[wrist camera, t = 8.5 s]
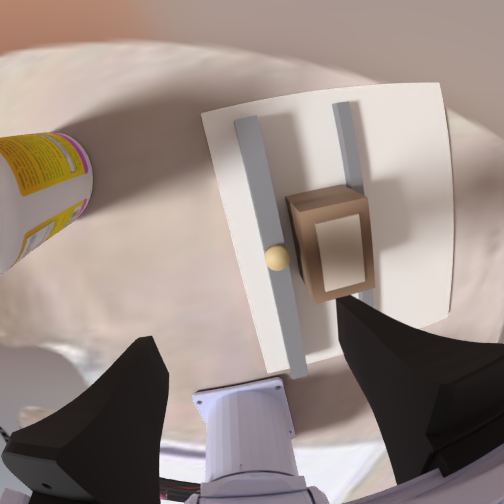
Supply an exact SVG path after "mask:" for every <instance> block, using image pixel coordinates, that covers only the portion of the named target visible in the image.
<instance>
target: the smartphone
mask: <svg viewBox="0 0 504 504" xmlns="http://www.w3.org/2000/svg"><path fill="white" fill-rule="evenodd" d="M159 488H160V499H164V500H170V501H177V502H184V503H185V501H187V500H188V499H189V498H190V496H191V495H193V494H198V495H201V484H197V483H190V482H183V481H176V480H172V479H165V478H160V477H159Z"/></svg>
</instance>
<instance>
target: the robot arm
mask: <svg viewBox="0 0 504 504" xmlns="http://www.w3.org/2000/svg"><path fill="white" fill-rule="evenodd" d="M336 312H337V326H338V341H339V343H340V346H341V349H342V351H343V354H344V356H345V359H346V361H347V363H348V365H349V367H350V369H351V371H352V372H353V374H354V376H355V378H356V380H357V382H358V383H359V385H360V387H361V389H362V391H363V393H364V394H365V396H366V398H367V400H368V402H369V404H370V406H371V408H372V410H373V413H374V415H375V418H376V421H377V423H378V426H379V429H380V431H381V434H382V437H383V440H384V443H385V446H386V449H387V452H388V455H389V458H390V462H391V465H392V468H393V472H394V475H395V479H396V483H397V486H394V487H392V488H389V489H386V490H384V491H381V492H378V493H375V494H372V495H369V496H366V497H363V498H360V499H356V500H353V501H350V502H346V503H343V504H504V344H500V343H477V342H469V341H462V340H456V339H451V338H447V337H442V336H438V335H435V334H431V333H428V332H425V331H422V330H419V329H416V328H414V327H411V326H409V325H406V324H404V323H402V322H400V321H398V320H395V319H393V318H391V317H389V316H387V315H386V314H384V313H382V312H380V311H378V310H376V309H375V308H373V307H371V306H369V305H368V304H366V303H364V302H362V301H361V300H359V299H357V298H356V297H354V296H352V295H348V296H344V297H340V298H336ZM276 386H279V387H276ZM168 393H169V372H168V370H167V368H166V366H165V364H164V362H163V359H162V357H161V355H160V353H159V351H158V348H157V346H156V344H155V342H154V339H153V337H152V336H147V337H140V338H138V339H136V340H135V341H134V342H133V343H132V344H131V345H130V346H129V347H128V348H127V349H126V351H125V352H124V353H123V354H122V355H121V356H120V357H119V358H118V359H117V360H116V361H115V362H114V363H113V365H112V366H111V367H110V368H109V369H108V370H107V371H106V372H105V373H104V374H103V375H102V376H101V377H100V378H99V379H98V380H97V381H96V382H95V383H94V384H92V385H91V386H90V387H89V388H88V389H87V390H86V391H84V392H83V393H82V394H81V395H80V396H78V397H77V398H76V399H74V400H73V401H72V402H70V403H69V404H67V405H66V406H64V407H63V408H61V409H60V410H58V411H57V412H55V413H53V414H52V415H50V416H48V417H46V418H44V419H42V420H41V421H39V422H37V423H34V424H32V425H30V426H27V427H25V428H23V429H20V430H18V431H15V432H13V433H12V434H11V436H10V438H9V440H8V442H7V444H6V447H5V449H4V451H3V453H2V455H1V457H2V460H3V462H4V464H5V465H6V467H7V468H8V469H9V470H10V471H11V472H12V473H13V474H14V475H15V476H16V477H17V478H18V479H19V480H20V481H22V482H23V483H24V484H25V485H26V486H28V488H30V489H31V490H32V491H33V493H32V496H31V497H29V496H28V495H26V494H23V493H21V492H18V491H15V490H11V489H8V488H4V491H3V493H2V496H1V499H0V504H161V502H160V488H159V453H160V441H161V435H162V429H163V423H164V418H165V412H166V406H167V401H168ZM192 400H193V401H194V403H195V405H196V407H197V409H198V411H199V413H200V415H201V417H202V418H203V420H204V422H205V424H206V426H207V433H206V480H205V483H201V495H198V494H193V495H191V496H190V498H189V499H188V500H187V501H185V503H184V504H329V501H328V499H327V497H326V495H325V494H324V493H323V492H322V491H320V490H319V489H318V488H317V487H315V486H310V487H306V482H305V478H304V476H299V475H298V470H297V466H296V461H295V456H294V451H293V447H292V442H291V439H294V438H295V437H296V435H295V431H294V427H293V423H292V419H291V414H290V410H289V406H288V402H287V398H286V394H285V390H284V385H283V381H282V379H281V378H279V377H275V378H271V379H266V380H262V381H257V382H252V383H247V384H242V385H237V386H232V387H226V388H220V389H215V390H209V391H202V392H196V393H194V394H193V395H192Z"/></svg>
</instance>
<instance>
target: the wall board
mask: <svg viewBox="0 0 504 504" xmlns="http://www.w3.org/2000/svg"><path fill="white" fill-rule="evenodd" d="M200 114H201V118H202V122H203V126H204V130H205V134H206V138H207V142H208V146H209V150H210V154H211V158H212V162H213V166H214V170H215V174H216V178H217V182H218V186H219V190H220V194H221V198H222V202H223V206H224V210H225V214H226V218H227V222H228V226H229V230H230V233H231V237H232V241H233V245H234V249H235V253H236V257H237V260H238V264H239V268H240V272H241V276H242V279H243V283H244V287H245V291H246V294H247V298H248V302H249V306H250V309H251V313H252V317H253V321H254V324H255V328H256V332H257V335H258V339H259V343H260V346H261V350H262V354H263V357H264V361H265V365H266V368H267V372H268V373H272V372H276V371H280V370H285V369H289V368H290V371H291V375H292V379H297V378H301V377H305V376H308V370H307V364H309V363H313V362H316V361H320V360H324V359H327V358H331V357H334V356H338V355H341V354H343V351H342V349H341V346H340V343H339V341H338V326H337V312H336V299H334V300H330V301H326V302H322V303H319V304H314V302H313V300H312V298H311V296H310V294H309V292H308V290H307V288H306V286H305V284H304V282H303V280H302V278H301V276H300V273H299V267H298V262H297V256H296V251H295V245H294V240H293V235H292V230H291V224H290V219H289V214H288V209H287V204H286V199H285V196H289V195H293V194H298V193H302V192H307V191H312V190H317V189H321V188H326V187H331V186H336V185H341V184H342V185H344V186H346V187H348V188H350V189H352V190H354V191H356V192H358V193H360V194H362V195H364V196H366V197H368V204H369V213H370V223H371V233H372V245H373V258H374V274H375V288H373V289H369V290H366V291H362V292H359V293H355V294H352V296H354V297H356V298H357V299H359V300H361V301H362V302H364V303H366V304H368V305H369V306H371V307H373V308H375V309H376V310H378V311H380V312H382V313H384V314H386V315H387V316H389V317H391V318H393V319H395V320H398V321H400V322H402V323H404V324H406V325H409V326H411V327H414V328H416V329H420V328H422V327H425V326H428V325H430V324H433V323H435V322H438V321H440V320H443V319H445V318H448V311H449V302H450V292H451V280H452V265H453V238H454V210H453V183H452V168H451V157H450V147H449V138H448V130H447V123H446V116H445V110H444V104H443V98H442V92H441V87H440V83H396V84H377V85H364V86H352V87H342V88H333V89H325V90H317V91H310V92H303V93H296V94H290V95H284V96H278V97H273V98H267V99H262V100H257V101H252V102H247V103H242V104H238V105H233V106H229V107H224V108H220V109H216V110H212V111H208V112H204V113H200Z"/></svg>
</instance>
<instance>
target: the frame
mask: <svg viewBox="0 0 504 504" xmlns="http://www.w3.org/2000/svg"><path fill="white" fill-rule="evenodd" d="M285 199H286V204H287V209H288V214H289V219H290V224H291V230H292V235H293V240H294V245H295V251H296V256H297V262H298V267H299V273H300V276H301V278H302V280H303V282H304V284H305V286H306V288H307V290H308V292H309V294H310V296H311V298H312V300H313V302H314V304H319V303H322V302H326V301H330V300H334V299H336V298H340V297H344V296H348V295H352V294H355V293H359V292H362V291H366V290H369V289H373V288H375V274H374V258H373V245H372V233H371V223H370V213H369V204H368V197H366V196H364V195H362V194H360V193H358V192H356V191H354V190H352V189H350V188H348V187H346V186H344V185H342V184H341V185H336V186H331V187H326V188H321V189H317V190H312V191H307V192H302V193H298V194H293V195H289V196H285Z"/></svg>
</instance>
